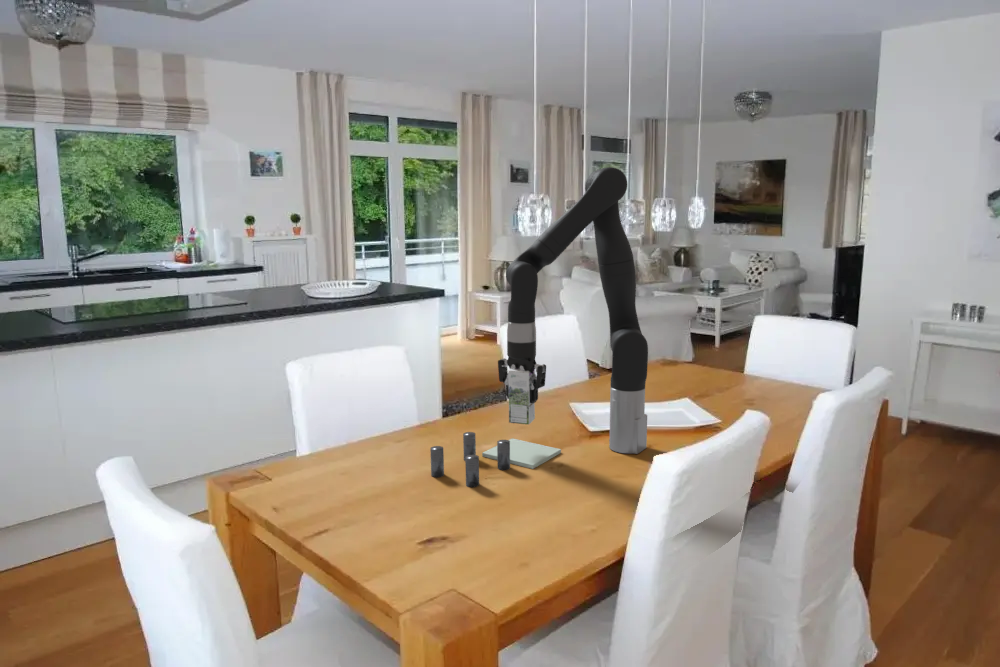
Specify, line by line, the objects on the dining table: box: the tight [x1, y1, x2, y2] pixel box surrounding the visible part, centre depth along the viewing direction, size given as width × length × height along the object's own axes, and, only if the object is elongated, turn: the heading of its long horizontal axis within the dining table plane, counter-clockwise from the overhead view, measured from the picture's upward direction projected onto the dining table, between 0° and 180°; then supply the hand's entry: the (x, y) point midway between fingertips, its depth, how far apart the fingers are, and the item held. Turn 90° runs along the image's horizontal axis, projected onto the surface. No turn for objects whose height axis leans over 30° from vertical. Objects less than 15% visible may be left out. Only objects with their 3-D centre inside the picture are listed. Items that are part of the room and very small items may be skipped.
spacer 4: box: [496, 439, 511, 471], centre depth 178 cm, size 3×3×7 cm
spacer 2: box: [462, 431, 477, 461], centre depth 184 cm, size 3×3×7 cm
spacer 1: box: [429, 445, 445, 478], centre depth 174 cm, size 3×3×7 cm
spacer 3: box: [464, 454, 480, 488], centre depth 168 cm, size 3×3×7 cm
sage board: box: [481, 438, 562, 470], centre depth 188 cm, size 16×14×1 cm
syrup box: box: [507, 368, 536, 425], centre depth 185 cm, size 6×6×14 cm
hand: (521, 400), depth 185 cm, fingers closed on syrup box, 6 cm apart
